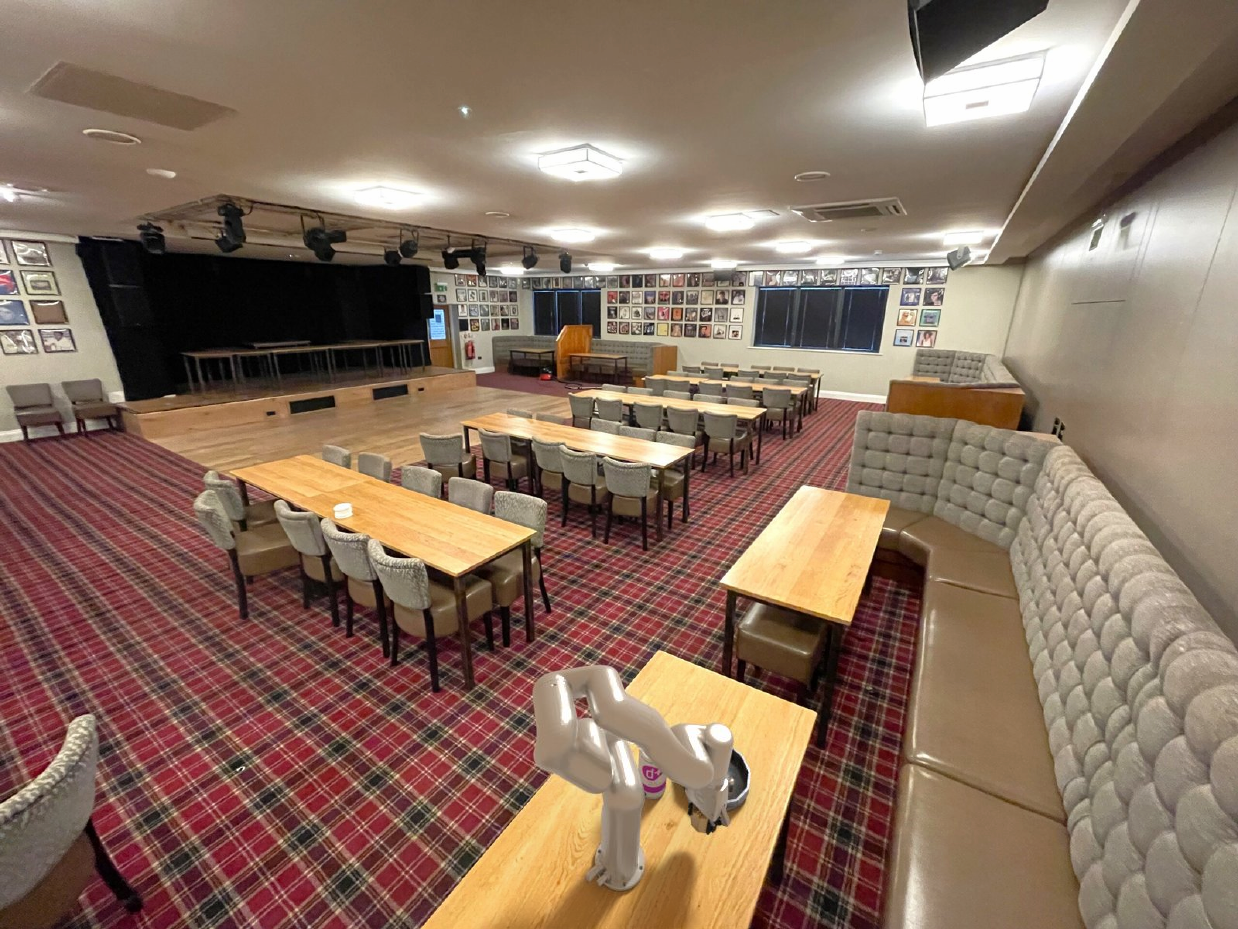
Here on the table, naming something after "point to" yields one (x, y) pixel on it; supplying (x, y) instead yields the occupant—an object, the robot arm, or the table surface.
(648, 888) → the table surface
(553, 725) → the robot arm
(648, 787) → the supplement can
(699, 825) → the tan hollow faceted cylinder
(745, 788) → the tray
